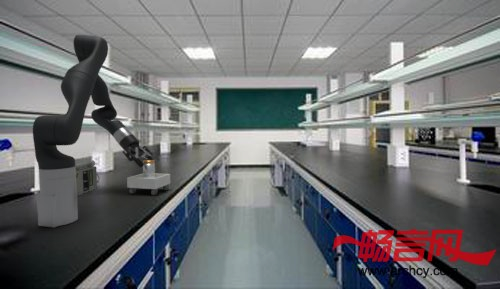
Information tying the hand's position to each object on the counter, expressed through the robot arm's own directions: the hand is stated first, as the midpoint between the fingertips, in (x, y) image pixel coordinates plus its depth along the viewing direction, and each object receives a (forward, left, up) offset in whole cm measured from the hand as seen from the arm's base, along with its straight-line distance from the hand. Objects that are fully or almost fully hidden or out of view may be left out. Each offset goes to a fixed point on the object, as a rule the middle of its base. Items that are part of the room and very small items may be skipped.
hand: (148, 164), depth 120 cm
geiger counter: (-7, +30, -13) cm, 33 cm away
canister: (0, 0, -8) cm, 8 cm away
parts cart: (0, 0, -12) cm, 13 cm away
